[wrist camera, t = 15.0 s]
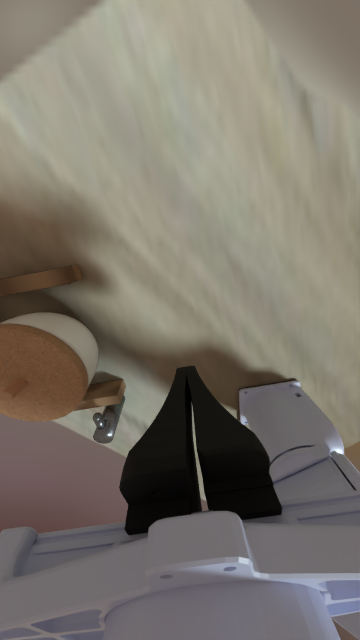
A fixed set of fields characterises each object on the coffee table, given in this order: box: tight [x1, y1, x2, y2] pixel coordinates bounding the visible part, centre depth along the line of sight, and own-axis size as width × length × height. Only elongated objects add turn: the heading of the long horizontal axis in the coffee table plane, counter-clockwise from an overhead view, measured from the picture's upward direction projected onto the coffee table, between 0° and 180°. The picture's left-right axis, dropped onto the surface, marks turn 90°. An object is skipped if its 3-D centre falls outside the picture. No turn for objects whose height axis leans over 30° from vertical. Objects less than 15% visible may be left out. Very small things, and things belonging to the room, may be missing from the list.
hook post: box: [93, 395, 125, 443], centre depth 24 cm, size 2×4×6 cm, turn 10°
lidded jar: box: [0, 312, 99, 421], centre depth 18 cm, size 11×11×9 cm
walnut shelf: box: [0, 265, 126, 411], centre depth 21 cm, size 14×18×3 cm
